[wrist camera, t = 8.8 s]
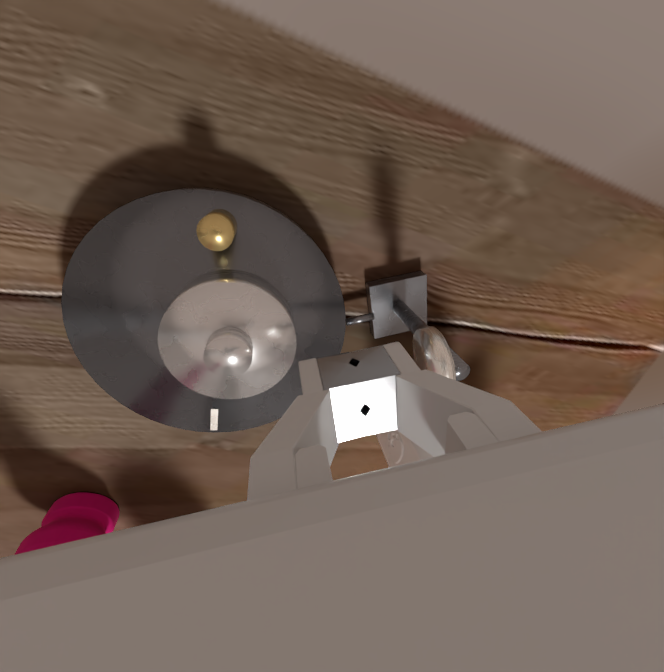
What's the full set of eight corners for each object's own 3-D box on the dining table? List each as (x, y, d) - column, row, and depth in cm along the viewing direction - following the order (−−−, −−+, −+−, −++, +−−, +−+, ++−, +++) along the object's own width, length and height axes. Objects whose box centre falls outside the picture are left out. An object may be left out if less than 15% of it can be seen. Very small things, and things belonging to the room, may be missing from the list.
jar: (392, 376, 33) (451, 474, 22) (457, 386, 35) (538, 479, 25) (363, 441, 36) (403, 551, 26) (425, 446, 39) (483, 548, 28)
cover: (185, 382, 26) (170, 420, 22) (154, 273, 22) (130, 297, 18) (296, 369, 27) (302, 403, 23) (288, 265, 23) (293, 285, 19)
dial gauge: (346, 338, 30) (388, 428, 20) (338, 288, 27) (382, 361, 17) (421, 321, 30) (500, 399, 20) (420, 270, 28) (510, 330, 18)
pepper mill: (27, 509, 32) (-252, 912, 15) (87, 477, 32) (-127, 855, 14) (85, 540, 36) (-85, 895, 18) (140, 513, 35) (19, 849, 18)
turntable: (319, 419, 33) (327, 457, 29) (96, 414, 28) (65, 460, 24) (364, 216, 24) (385, 226, 20) (52, 157, 19) (-10, 155, 15)
